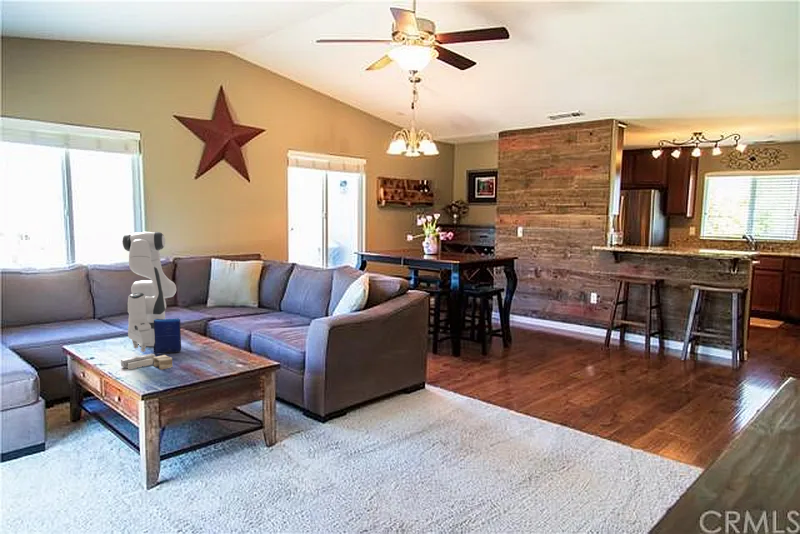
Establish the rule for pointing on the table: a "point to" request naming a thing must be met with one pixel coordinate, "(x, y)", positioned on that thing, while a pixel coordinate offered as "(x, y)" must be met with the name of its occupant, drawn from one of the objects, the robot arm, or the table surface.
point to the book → (167, 336)
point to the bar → (136, 359)
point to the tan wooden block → (163, 362)
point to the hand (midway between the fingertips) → (139, 349)
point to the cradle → (140, 363)
